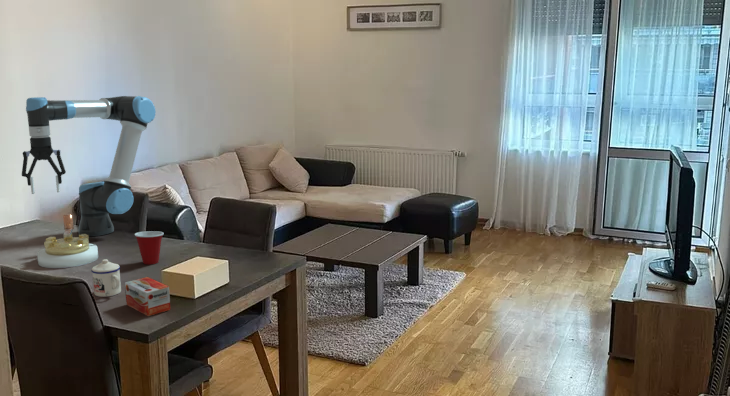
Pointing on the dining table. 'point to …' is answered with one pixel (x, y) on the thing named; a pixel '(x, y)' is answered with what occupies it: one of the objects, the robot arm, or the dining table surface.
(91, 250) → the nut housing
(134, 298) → the medicine box
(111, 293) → the teacup with lid
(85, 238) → the ring nut
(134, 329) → the dining table surface
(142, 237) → the plastic cup
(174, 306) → the dining table surface
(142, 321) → the dining table surface
